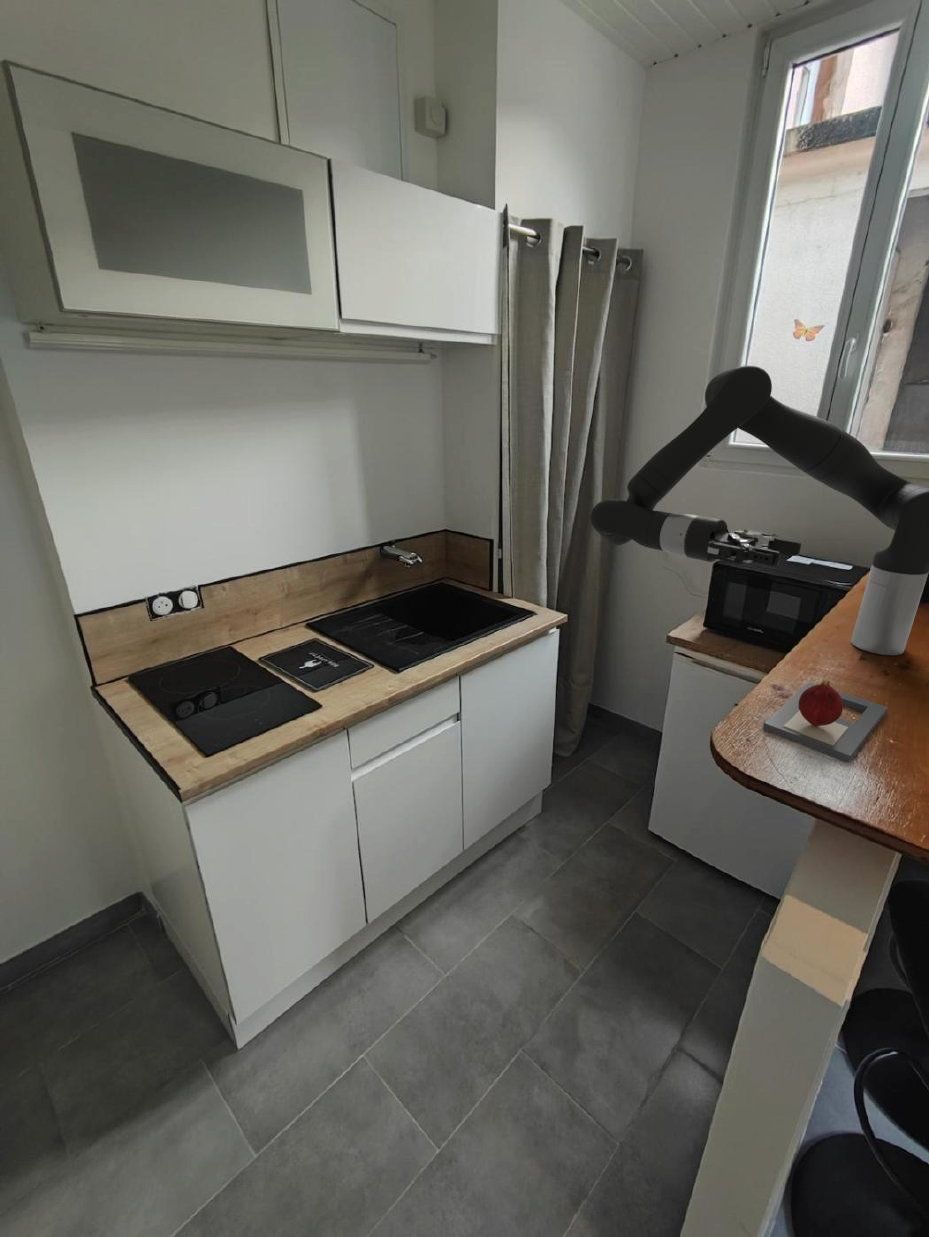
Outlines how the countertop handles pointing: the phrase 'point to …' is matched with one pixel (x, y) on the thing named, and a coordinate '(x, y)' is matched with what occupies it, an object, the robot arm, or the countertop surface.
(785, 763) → the countertop surface
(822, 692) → the onion
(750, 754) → the countertop surface
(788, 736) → the tray
